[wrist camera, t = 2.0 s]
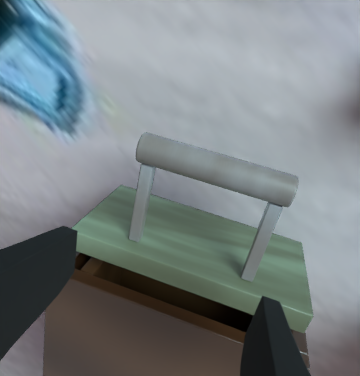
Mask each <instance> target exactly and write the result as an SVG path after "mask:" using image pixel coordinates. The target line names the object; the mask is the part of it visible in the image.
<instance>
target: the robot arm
mask: <svg viewBox="0 0 360 376" xmlns="http://www.w3.org/2000/svg"><path fill="white" fill-rule="evenodd" d="M77 233H78V231H77V230H74V229H71V228H68V227H65V226H62V227H59V228H56V229H54V230H51V231H48V232H46V233H43V234H41V235H38V236H36V237H33V238H30V239H28V240H25V241H23V242H20V243H17V244H15V245H12V246H9V247H6V248H4V249H1V250H0V361H1V359H2V358H3V357H4V355H5V354H6V353H7V352H8V350H9V349H10V348H11V347H12V346H13V344H14V343H15V342H16V341H17V340H18V339H19V338H20V337H21V335H22V334H23V333H24V332H25V331H26V330H27V329H28V328H29V327H30V326H31V324H32V323H33V322H34V321H35V320H36V319H37V318H38V317H39V316H40V315H41V314H42V312H43V311H44V310H45V309H46V308H47V307H48V306H49V305H50V304H51V302H52V301H53V300H54V299H55V298H56V297H57V296H58V295H59V293H60V292H61V291H62V289H63V288H64V286H65V285H66V284H67V282H68V281H69V279H70V278H71V276H72V275H73V273H74V271H75V258H76V245H77ZM240 376H311V375H310V373H309V371H308V369H307V366H306V364H305V362H304V360H303V358H302V355H301V353H300V351H299V349H298V346H297V344H296V342H295V339H294V337H293V334H292V332H291V329H290V327H289V324H288V321H287V319H286V316H285V313H284V311H283V308H282V305H281V303H280V301H277V300H274V299H271V298H268V297H265V296H262V297H261V300H260V302H259V304H258V307H257V309H256V311H255V314H254V316H253V318H252V321H251V323H250V325H249V327H248V330H247V332H246V334H245V339H244V345H243V351H242V357H241V364H240Z"/></svg>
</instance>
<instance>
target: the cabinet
mask: <svg viewBox="0 0 360 376" xmlns="http://www.w3.org/2000/svg"><path fill="white" fill-rule="evenodd" d="M90 258H91V256H88V255H86V254H83V253H80V252H77V251H76V258H75V271H74V273H73V275H72V276H71V278H70V279H69V281H68V282H67V284H66V285H65V286H64V288H63V289H62V291H61V292H60V293H59V295H58V296H57V297H56V298H55V299H54V300H53V301H52V302H51V304H50V305H49V306H48V307H47V308H46V309H45V334H44V363H43V376H240V364H241V357H242V351H243V345H244V339H245V334H246V332H244V331H241V330H238V329H236V328H233V327H230V326H228V325H225V324H222V323H219V322H217V321H214V320H211V319H209V318H206V317H203V316H201V315H198V314H195V313H193V312H190V311H187V310H185V309H182V308H179V307H177V306H174V305H171V304H168V303H166V302H163V301H160V300H158V299H155V298H152V297H150V296H147V295H144V294H142V293H139V292H136V291H134V290H131V289H128V288H125V287H123V286H120V285H117V284H115V283H112V282H109V281H107V280H104V279H101V278H99V277H96V276H93V275H91V274H88V273H85V272H82V271H80V270H81V269H82V267H83V266H84V265H85V264H86V263H87V262H88V261H89V260H90ZM291 332H292V334H293V337H294V339H295V342H296V344H297V346H298V349H299V351H300V353H301V355H302V358H303V360H304V362H305V364H306V366H307V369H308V371H310V365H309V357H308V349H307V341H306V333H305V332H304V333H301V332H298V331H295V330H292V329H291Z"/></svg>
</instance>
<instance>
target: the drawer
mask: <svg viewBox="0 0 360 376" xmlns="http://www.w3.org/2000/svg"><path fill="white" fill-rule="evenodd" d="M136 160H137V161H138V162H140V163H142V164H141V167H140V173H139V179H138V185H137V190H136V189H133V188H130V187H127V186H123V185H120V186H119V187H118V188H117V189H116V190H115V191H113V192H112V193H111V194H110V195H109V196H108V197H107V198H105V199H104V200H103V201H102V202H101V203H100V204H99V205H97V206H96V207H95V208H94V209H93V210H92V211H91V212H89V213H88V214H87V215H86V216H85V217H84V218H83V219H81V220H80V221H79V222H78V223H77V224H76V225H74V226H73V227H72V228H71V229H74V230H77V231H78V233H77V245H76V251H77V252H80V253H83V254H86V255H88V256H91V258H90V260H89V261H88V262H87V263H86V264H85V265H84V266H83V267H82V269H81V270H80V271H82V272H85V273H88V274H91V275H93V276H96V277H99V278H101V279H104V280H107V281H109V282H112V283H115V284H117V285H120V286H123V287H125V288H128V289H131V290H134V291H136V292H139V293H142V294H144V295H147V296H150V297H152V298H155V299H158V300H160V301H163V302H166V303H168V304H171V305H174V306H177V307H179V308H182V309H185V310H187V311H190V312H193V313H195V314H198V315H201V316H203V317H206V318H209V319H211V320H214V321H217V322H219V323H222V324H225V325H228V326H230V327H233V328H236V329H238V330H241V331H244V332H247V330H248V327H249V325H250V323H251V321H252V318H253V316H254V314H255V311H256V309H257V307H258V304H259V302H260V300H261V297H262V296H265V297H268V298H271V299H274V300H277V301H280V303H281V305H282V308H283V311H284V313H285V316H286V319H287V321H288V324H289V327H290V329H292V330H295V331H298V332H301V333H304V332H305V331H306V329H307V327H308V325H309V323H310V322H311V320H312V318H313V310H312V304H311V298H310V291H309V285H308V279H307V273H306V266H305V260H304V254H303V247H302V243H301V242H298V241H295V240H292V239H288V238H285V237H282V236H279V235H276V234H273V230H274V228H275V225H276V223H277V221H278V218H279V216H280V213H281V211H282V206H284V207H289V206H290V205H291V203H292V201H293V199H294V197H295V194H296V191H297V188H298V182H299V179H298V177H297V176H295V175H292V174H288V173H285V172H281V171H278V170H274V169H271V168H268V167H264V166H261V165H257V164H254V163H250V162H247V161H243V160H240V159H237V158H233V157H230V156H226V155H223V154H219V153H216V152H213V151H209V150H206V149H202V148H199V147H195V146H192V145H188V144H185V143H182V142H178V141H175V140H171V139H168V138H164V137H161V136H158V135H154V134H151V133H147V132H146V133H143V134H142V136H141V138H140V140H139V142H138V145H137V149H136ZM156 167H157V168H160V169H163V170H167V171H170V172H173V173H176V174H180V175H183V176H186V177H189V178H193V179H196V180H199V181H202V182H206V183H209V184H212V185H215V186H219V187H222V188H225V189H228V190H232V191H235V192H238V193H241V194H245V195H248V196H251V197H255V198H258V199H261V200H264V201H268V203H267V206H266V208H265V211H264V214H263V216H262V219H261V221H260V224H259V227H258V229H257V228H254V227H251V226H248V225H245V224H242V223H239V222H236V221H232V220H229V219H226V218H223V217H220V216H217V215H214V214H211V213H208V212H204V211H201V210H198V209H195V208H192V207H189V206H186V205H183V204H180V203H176V202H173V201H170V200H167V199H164V198H161V197H158V196H155V195H151V190H152V184H153V179H154V174H155V169H156Z"/></svg>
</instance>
